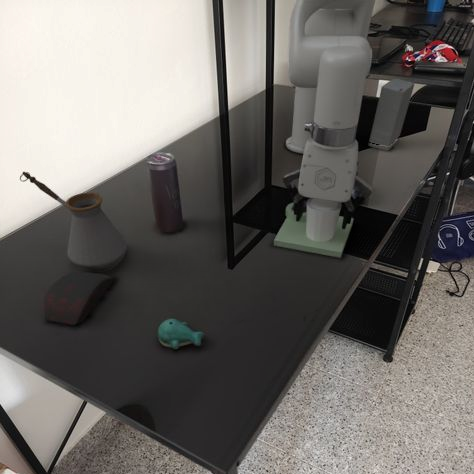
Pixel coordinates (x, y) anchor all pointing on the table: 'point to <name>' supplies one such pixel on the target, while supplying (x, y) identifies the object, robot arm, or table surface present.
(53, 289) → the computer mouse
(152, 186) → the beverage can
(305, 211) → the button
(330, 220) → the grey cup
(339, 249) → the scale
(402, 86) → the cosmetic box
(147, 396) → the table surface
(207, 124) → the table surface
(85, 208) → the coffee pot
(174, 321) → the whale figurine
